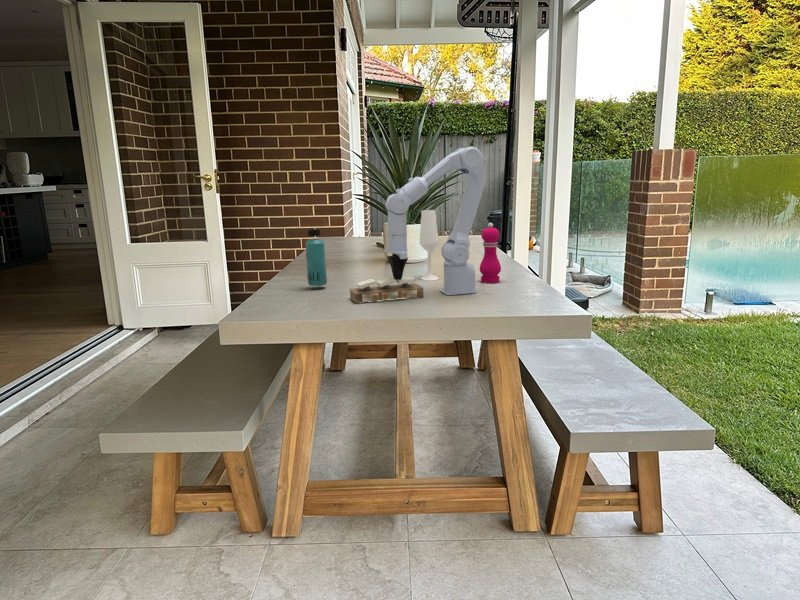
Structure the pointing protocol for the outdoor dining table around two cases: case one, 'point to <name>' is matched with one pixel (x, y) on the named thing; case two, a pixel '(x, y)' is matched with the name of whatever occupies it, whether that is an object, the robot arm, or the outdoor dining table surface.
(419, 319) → the outdoor dining table surface
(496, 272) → the pepper mill
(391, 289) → the switch unit
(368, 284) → the switch
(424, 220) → the champagne flute
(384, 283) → the switch
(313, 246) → the beverage bottle
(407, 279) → the switch
